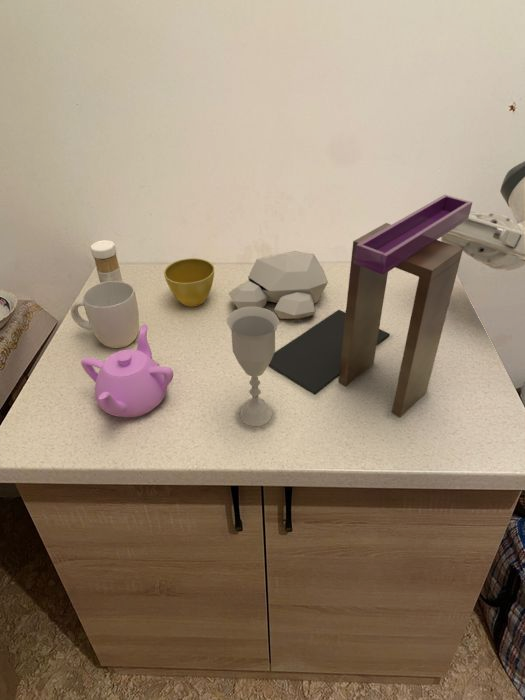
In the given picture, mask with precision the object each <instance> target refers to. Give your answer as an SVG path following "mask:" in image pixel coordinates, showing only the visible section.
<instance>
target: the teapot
mask: <svg viewBox="0 0 525 700" xmlns="http://www.w3.org/2000/svg"><path fill="white" fill-rule="evenodd" d="M147 333H148V324H147V323H146V324H145V323H144V324H143V325H142V326H141V327H140V329H139V331H138V337H137V338H138V339H137V347H136V349H124V350H119V351H117V352H114V353H112V354H111V355H109V356H108V357H107V358H106V359H105V360H104V361H103V360H100V359H98V358H94V357H91V356H86V357H83V358H82V359H81V361H80V364H81V367H82V368H83V370H84V371H85V373H86V374H87V375H88V376H89V377H90V379H91V380H92V381H93V382H94V384H95V385H94V397H95V401H96V404H97V406H98V407H99V408H100V409H102V411H104V412H105V413H106V414H109V415H112V416H114V417H118V418H127V419H128V418H136V417H141V416H144V415H146V414H148V413H150V412H151V411H153V410H154V409H156V408H157V406H159V405H160V404H161V403H162V401H163V400H164V398H165V397H166V394H167V391H168V387H169V385H170V384H171V382H172V381H173V378H174V371H173V369H172V368H171V367H169V366H162V365H161V366H160V365H159V364H158V363H157V362H156V361H155V360H154V359H153V353H152V350H151V347H150V344H149V341H148V337H147V335H148V334H147ZM94 367H95V368H97V369H99V371H98V372H97V371H96V369H95V368H94Z"/></svg>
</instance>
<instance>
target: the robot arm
mask: <svg viewBox="0 0 525 700" xmlns="http://www.w3.org/2000/svg"><path fill="white" fill-rule="evenodd" d="M502 180H503V181H502V184H501V187H500V195H501V196H502V197H503V200H504V201H505V203H506V204H507V206H508V208H510V209H509V210H511V213H512V215H513V218H514V220H515V222H514V221H513V220H512V219H511V218H510V217H508V216H506V215H505V214H502V213H497V212H496V213H494V212H493V213H486V212H474V211H470V214H469V218H468V220H466V221H465V222H463V223H462V224H460V225H459V226H457V227H456V228H454V229H453V230H451V231H449V232H448V233H446V234H445V235H443V236H442V237H440V241H442V242H445V243H448V244H451V245H454V246H457V247H460V248H463V251H462V252H463V253H465V254H466V255H467V256H468V257H470V258H472V259H474V260H475V261H477V262H479V263H481V264H484V265H486V266H487V267H489V268H490V269H493V270H496V271H503V272H508V271H514V270H518V269H519V268H522V267H524V266H525V160H524V161H522V162H520V163H518V164H516V165H514V166H513V167H512V168H511V169H509V170H508V171H507V172H506V174H505V176H504V178H503V179H502Z"/></svg>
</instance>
